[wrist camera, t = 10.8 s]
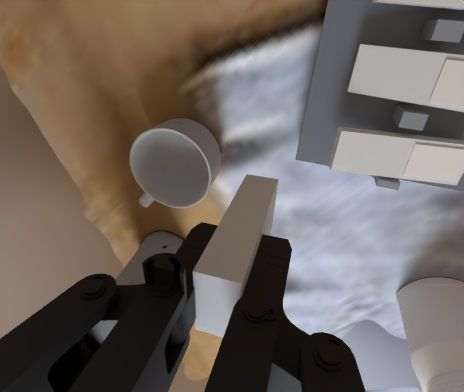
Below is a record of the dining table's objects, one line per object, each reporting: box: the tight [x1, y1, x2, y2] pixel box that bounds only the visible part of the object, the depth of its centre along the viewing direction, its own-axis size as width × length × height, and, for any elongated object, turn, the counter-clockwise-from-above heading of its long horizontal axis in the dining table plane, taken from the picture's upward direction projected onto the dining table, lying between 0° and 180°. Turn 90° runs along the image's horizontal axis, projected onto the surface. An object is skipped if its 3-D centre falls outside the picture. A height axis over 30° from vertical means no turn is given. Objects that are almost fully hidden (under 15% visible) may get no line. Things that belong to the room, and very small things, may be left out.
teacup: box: [129, 118, 221, 208], centre depth 40 cm, size 14×11×8 cm
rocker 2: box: [328, 126, 464, 185], centre depth 28 cm, size 4×12×2 cm, turn 86°
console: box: [296, 0, 464, 191], centre depth 28 cm, size 21×19×8 cm
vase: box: [115, 231, 184, 285], centre depth 43 cm, size 13×14×28 cm
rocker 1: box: [348, 44, 464, 112], centre depth 25 cm, size 4×12×2 cm, turn 86°
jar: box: [396, 277, 464, 392], centre depth 37 cm, size 12×10×15 cm
